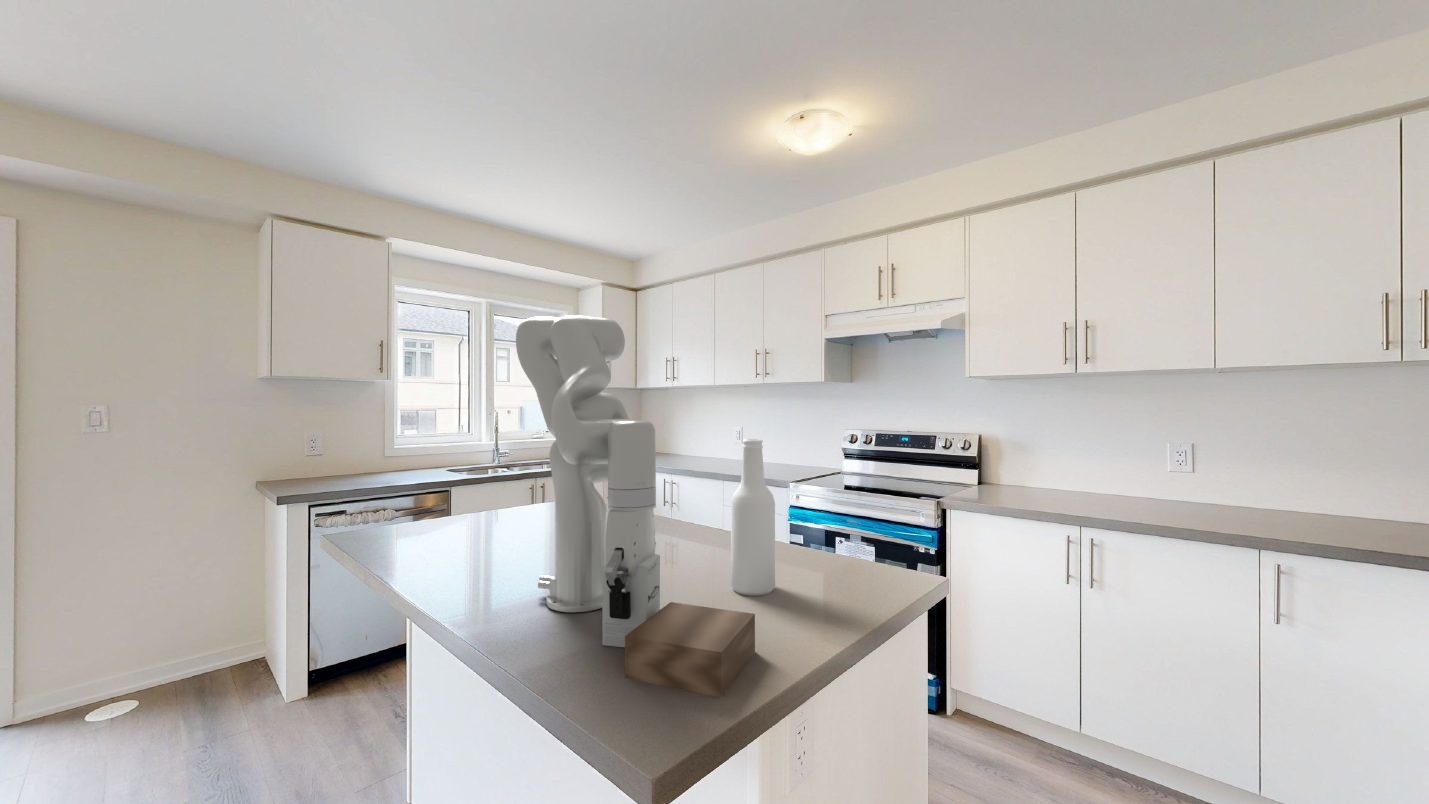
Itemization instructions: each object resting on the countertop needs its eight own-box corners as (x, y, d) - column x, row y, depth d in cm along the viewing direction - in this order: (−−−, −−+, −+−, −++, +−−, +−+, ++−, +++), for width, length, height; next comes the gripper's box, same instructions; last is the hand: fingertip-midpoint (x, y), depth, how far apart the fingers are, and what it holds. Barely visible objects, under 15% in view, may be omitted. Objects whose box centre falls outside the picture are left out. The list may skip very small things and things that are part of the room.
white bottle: (746, 579, 118) (745, 437, 118) (783, 587, 113) (782, 439, 113) (722, 591, 111) (722, 439, 111) (761, 599, 106) (760, 441, 106)
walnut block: (625, 680, 76) (624, 636, 76) (670, 639, 89) (670, 602, 89) (721, 700, 70) (721, 652, 70) (755, 654, 83) (754, 613, 83)
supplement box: (647, 650, 84) (646, 566, 84) (600, 646, 86) (600, 563, 86) (661, 631, 91) (661, 553, 91) (618, 627, 93) (618, 551, 93)
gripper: (632, 490, 98) (633, 588, 97) (584, 506, 81) (585, 625, 81) (672, 491, 96) (673, 591, 95) (632, 508, 79) (633, 629, 79)
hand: (633, 607), depth 88 cm, fingers open, 9 cm apart
